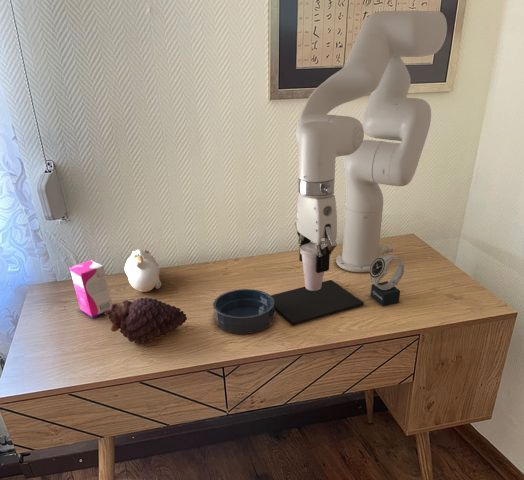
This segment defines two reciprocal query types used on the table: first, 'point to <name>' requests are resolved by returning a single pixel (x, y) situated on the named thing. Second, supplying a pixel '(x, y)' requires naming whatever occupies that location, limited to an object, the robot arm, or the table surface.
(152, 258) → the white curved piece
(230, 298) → the dish
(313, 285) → the smoothie
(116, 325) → the pine cone
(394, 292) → the watch
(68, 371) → the table surface
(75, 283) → the supplement box
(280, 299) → the mat
